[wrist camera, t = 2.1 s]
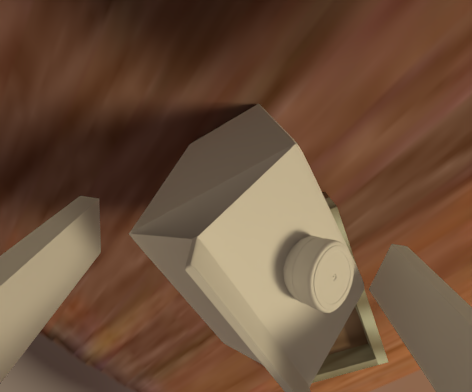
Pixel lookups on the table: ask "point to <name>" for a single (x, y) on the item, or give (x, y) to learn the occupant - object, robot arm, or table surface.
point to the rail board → (353, 332)
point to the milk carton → (254, 247)
